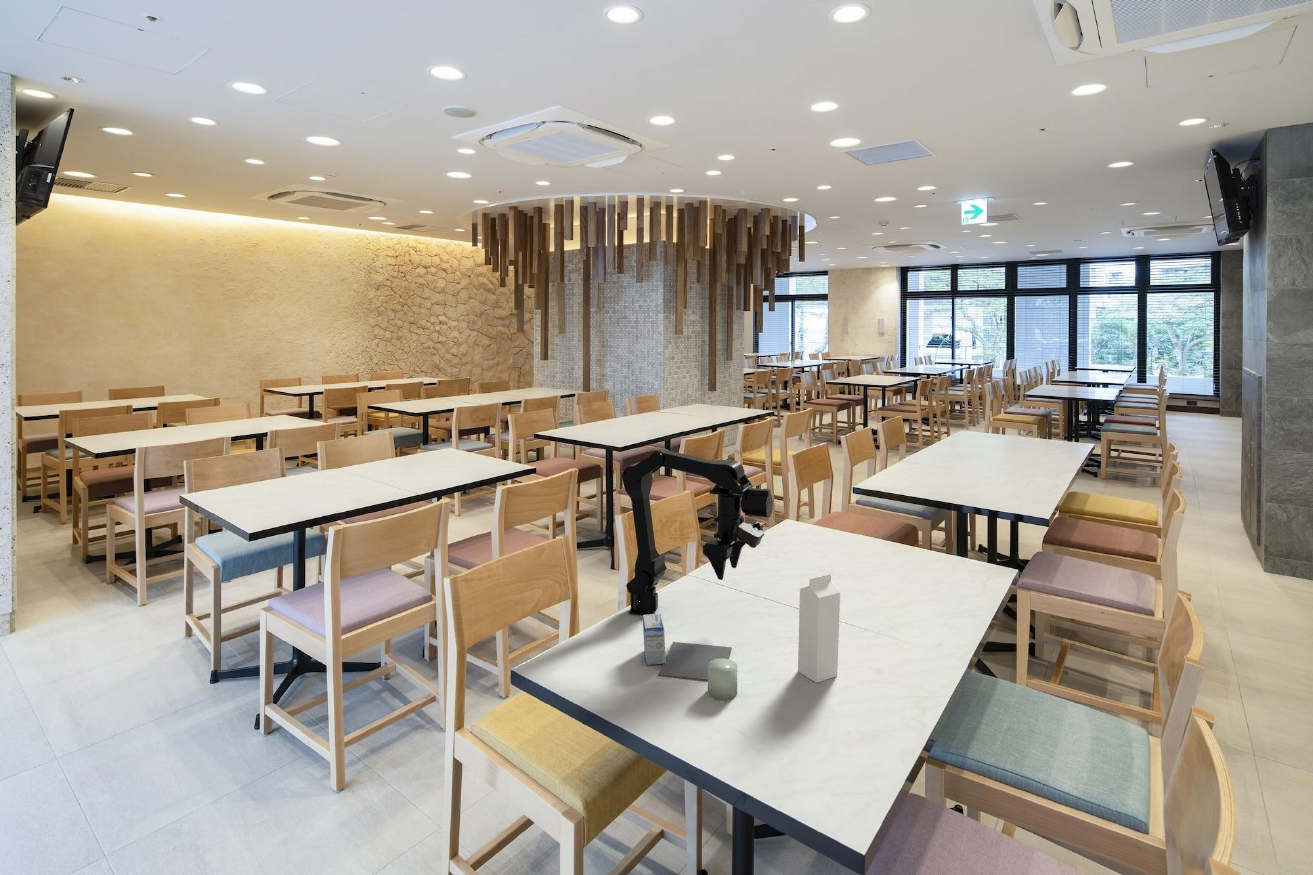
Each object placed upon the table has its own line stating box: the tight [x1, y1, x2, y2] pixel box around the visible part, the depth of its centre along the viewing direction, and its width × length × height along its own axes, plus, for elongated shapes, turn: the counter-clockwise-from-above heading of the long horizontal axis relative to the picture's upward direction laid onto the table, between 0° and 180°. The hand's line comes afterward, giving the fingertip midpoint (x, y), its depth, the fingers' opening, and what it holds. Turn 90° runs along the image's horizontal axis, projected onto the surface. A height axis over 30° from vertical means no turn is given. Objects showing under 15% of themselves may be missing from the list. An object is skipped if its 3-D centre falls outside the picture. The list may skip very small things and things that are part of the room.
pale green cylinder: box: [707, 658, 738, 701], centre depth 141 cm, size 6×6×6 cm
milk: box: [797, 573, 841, 684], centre depth 147 cm, size 6×6×22 cm
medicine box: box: [642, 613, 667, 666], centre depth 156 cm, size 8×4×9 cm, turn 5°
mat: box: [657, 641, 732, 682], centre depth 155 cm, size 14×16×1 cm
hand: (727, 573), depth 171 cm, fingers open, 9 cm apart
